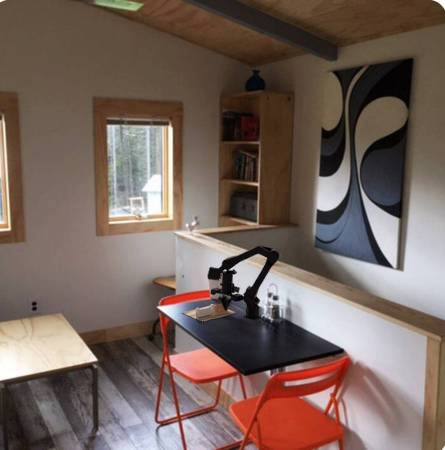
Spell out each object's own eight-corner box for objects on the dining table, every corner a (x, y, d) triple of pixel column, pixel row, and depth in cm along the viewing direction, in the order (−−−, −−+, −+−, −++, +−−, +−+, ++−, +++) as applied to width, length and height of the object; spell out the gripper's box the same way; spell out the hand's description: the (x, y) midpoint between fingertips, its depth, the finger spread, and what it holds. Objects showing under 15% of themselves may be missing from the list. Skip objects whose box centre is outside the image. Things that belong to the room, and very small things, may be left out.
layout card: (236, 313, 280) (236, 312, 280) (202, 322, 264) (202, 321, 264) (214, 305, 292) (214, 304, 292) (181, 313, 277) (181, 312, 276)
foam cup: (226, 296, 309) (227, 275, 307) (218, 300, 302) (219, 278, 300) (213, 293, 314) (213, 272, 312) (204, 297, 306) (205, 275, 305)
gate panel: (228, 310, 282) (228, 301, 282) (215, 313, 276) (215, 304, 275) (226, 309, 284) (226, 300, 283) (213, 312, 277) (213, 303, 277)
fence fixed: (214, 315, 276) (215, 304, 275) (197, 319, 268) (197, 309, 267) (212, 314, 277) (212, 303, 276) (194, 318, 269) (195, 308, 268)
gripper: (250, 282, 276) (249, 311, 278) (224, 275, 288) (222, 303, 291) (237, 286, 268) (235, 315, 270) (210, 278, 280) (209, 307, 282)
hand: (225, 310), depth 278 cm, fingers closed
